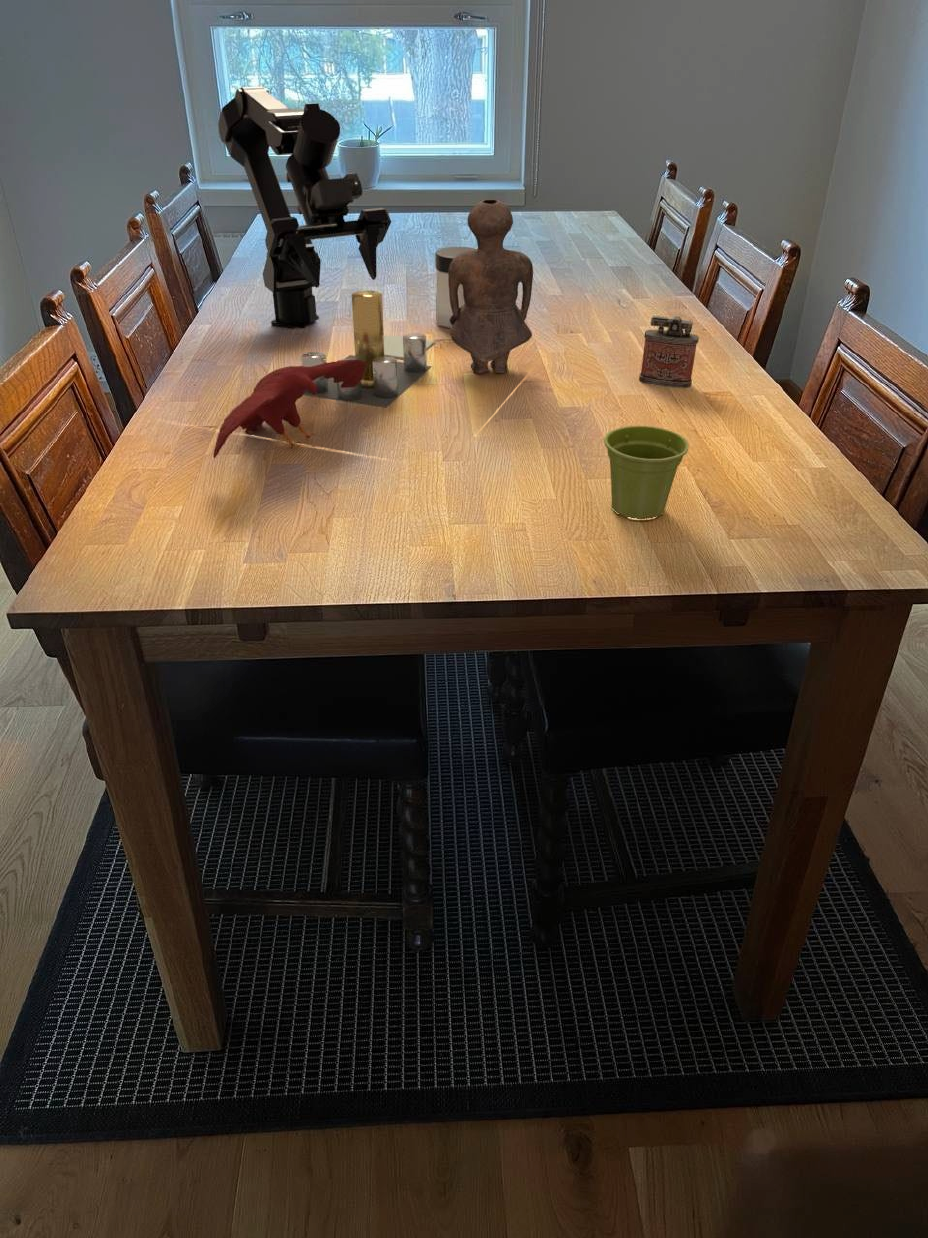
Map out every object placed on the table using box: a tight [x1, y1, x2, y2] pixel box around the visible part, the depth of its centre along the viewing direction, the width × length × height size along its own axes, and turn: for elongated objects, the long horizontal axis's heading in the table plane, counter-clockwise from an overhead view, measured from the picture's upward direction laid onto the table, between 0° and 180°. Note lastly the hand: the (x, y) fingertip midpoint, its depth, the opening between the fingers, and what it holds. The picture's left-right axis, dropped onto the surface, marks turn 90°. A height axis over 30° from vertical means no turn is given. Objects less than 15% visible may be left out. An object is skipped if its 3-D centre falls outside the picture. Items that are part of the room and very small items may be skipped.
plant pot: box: [603, 425, 690, 519], centre depth 105 cm, size 9×9×9 cm
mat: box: [303, 354, 433, 408], centre depth 140 cm, size 14×18×1 cm
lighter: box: [638, 315, 700, 389], centre depth 138 cm, size 8×3×10 cm, turn 71°
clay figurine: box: [448, 198, 534, 374], centre depth 138 cm, size 13×10×25 cm
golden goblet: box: [351, 290, 385, 389], centre depth 136 cm, size 6×6×13 cm
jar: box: [434, 246, 478, 329], centre depth 161 cm, size 9×8×12 cm
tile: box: [384, 334, 435, 360], centre depth 152 cm, size 9×9×1 cm
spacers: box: [300, 332, 428, 402], centre depth 139 cm, size 14×18×5 cm
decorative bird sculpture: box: [213, 359, 367, 459], centre depth 120 cm, size 28×9×15 cm
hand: (346, 281), depth 137 cm, fingers open, 9 cm apart
